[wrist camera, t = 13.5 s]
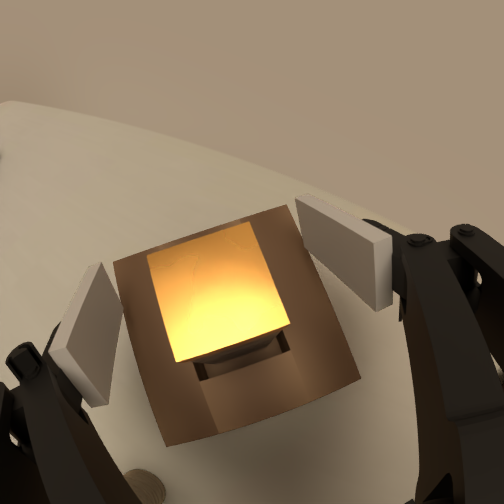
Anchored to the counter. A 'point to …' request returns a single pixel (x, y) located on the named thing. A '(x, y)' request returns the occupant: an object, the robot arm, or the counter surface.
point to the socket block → (248, 366)
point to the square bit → (217, 296)
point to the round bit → (146, 486)
